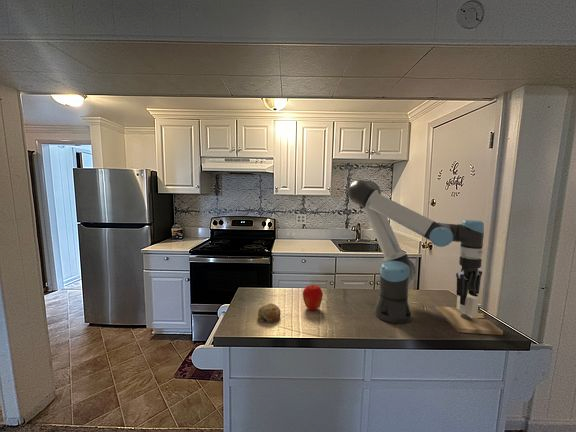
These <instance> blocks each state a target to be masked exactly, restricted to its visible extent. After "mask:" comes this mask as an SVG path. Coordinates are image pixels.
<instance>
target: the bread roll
mask: <svg viewBox="0 0 576 432" xmlns="http://www.w3.org/2000/svg"><path fill="white" fill-rule="evenodd" d="M257 316H258V320H259V321H260V323H264V322H265V324H275V323H277V322H279V321H280V319H281V309H280V307H279V306H278V305H276V304H274V303H268V304H264V305H261V306H260V308H259V309H258V311H257Z"/></svg>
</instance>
